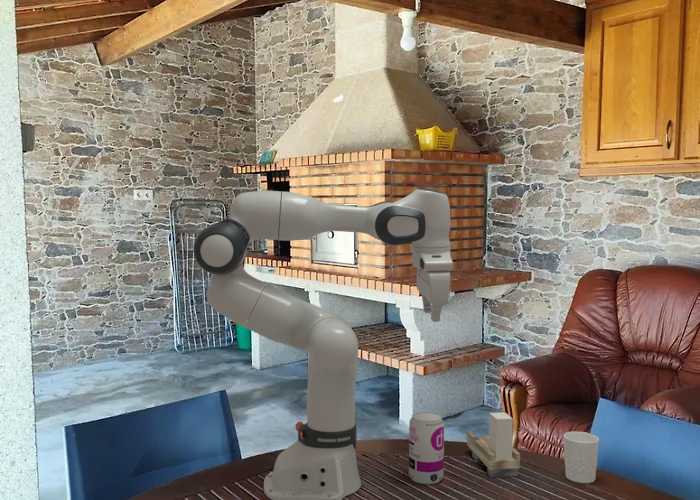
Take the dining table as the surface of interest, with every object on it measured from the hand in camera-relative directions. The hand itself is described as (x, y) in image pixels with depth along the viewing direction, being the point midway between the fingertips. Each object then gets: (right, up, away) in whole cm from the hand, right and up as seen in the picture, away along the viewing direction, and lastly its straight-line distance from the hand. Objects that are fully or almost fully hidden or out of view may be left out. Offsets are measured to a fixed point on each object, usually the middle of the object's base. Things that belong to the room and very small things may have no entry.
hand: (431, 316), depth 147 cm
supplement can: (-1, -39, +2) cm, 39 cm away
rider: (+18, -35, +6) cm, 39 cm away
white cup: (+36, -39, +3) cm, 54 cm away
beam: (+17, -39, +12) cm, 44 cm away
